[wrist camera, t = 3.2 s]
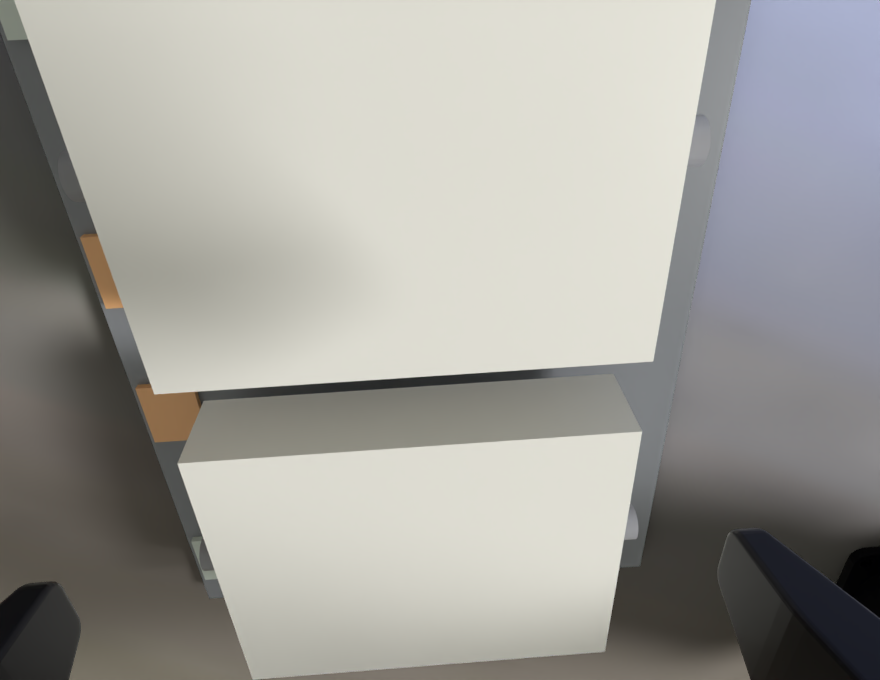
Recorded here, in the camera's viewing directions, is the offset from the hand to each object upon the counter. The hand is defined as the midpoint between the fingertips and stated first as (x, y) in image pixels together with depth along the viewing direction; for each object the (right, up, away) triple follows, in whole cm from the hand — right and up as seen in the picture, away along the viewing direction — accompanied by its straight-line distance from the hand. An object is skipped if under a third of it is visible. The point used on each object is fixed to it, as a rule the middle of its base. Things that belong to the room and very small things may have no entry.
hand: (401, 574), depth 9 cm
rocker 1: (0, +7, +4) cm, 8 cm away
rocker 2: (0, -3, +10) cm, 10 cm away
